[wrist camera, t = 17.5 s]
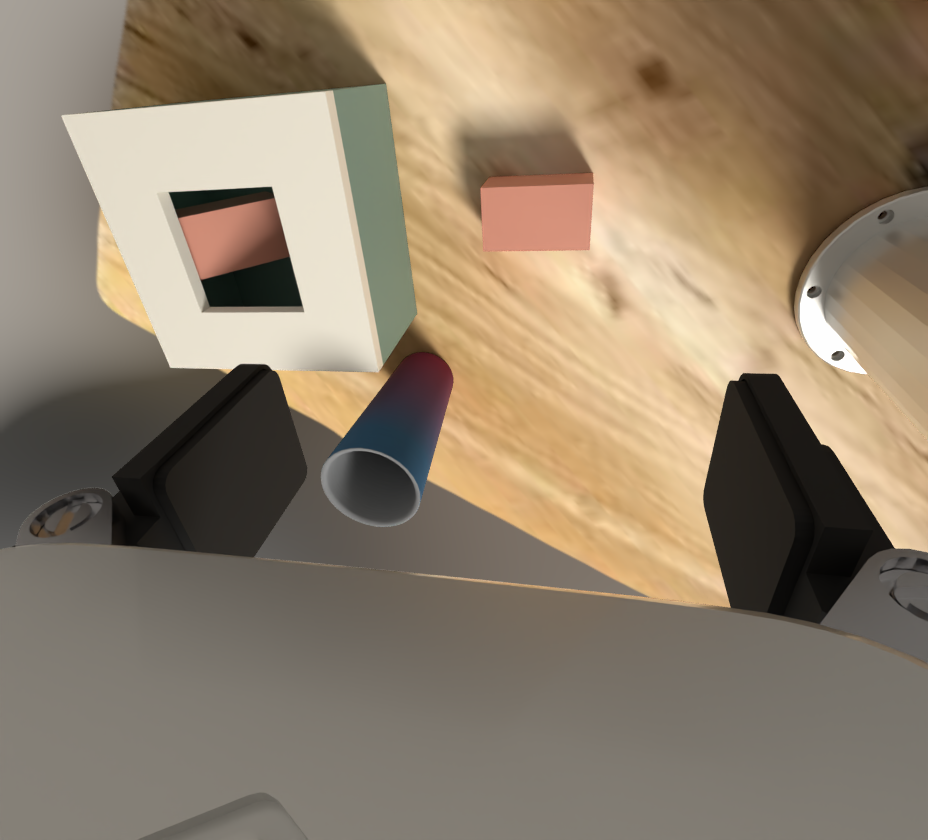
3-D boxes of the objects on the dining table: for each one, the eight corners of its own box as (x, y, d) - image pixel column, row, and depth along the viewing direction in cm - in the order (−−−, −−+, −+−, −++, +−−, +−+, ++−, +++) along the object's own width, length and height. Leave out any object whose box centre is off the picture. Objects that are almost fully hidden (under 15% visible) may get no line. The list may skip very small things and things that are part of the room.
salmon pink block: (282, 196, 37) (176, 218, 34) (298, 254, 39) (200, 280, 36) (265, 191, 39) (166, 211, 36) (281, 245, 42) (188, 268, 39)
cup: (377, 350, 46) (303, 454, 34) (450, 335, 44) (399, 441, 32) (403, 414, 49) (344, 530, 37) (472, 404, 47) (433, 523, 35)
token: (592, 172, 35) (593, 183, 32) (589, 233, 38) (589, 249, 34) (489, 176, 37) (480, 188, 34) (491, 235, 39) (483, 251, 36)
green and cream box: (386, 83, 35) (325, 91, 27) (417, 313, 43) (378, 372, 35) (173, 103, 38) (61, 115, 30) (242, 313, 47) (170, 367, 38)
